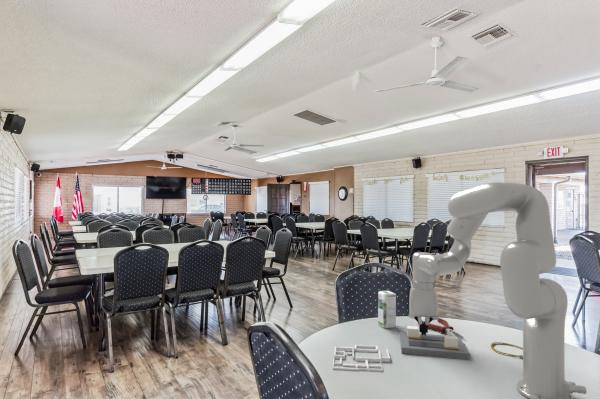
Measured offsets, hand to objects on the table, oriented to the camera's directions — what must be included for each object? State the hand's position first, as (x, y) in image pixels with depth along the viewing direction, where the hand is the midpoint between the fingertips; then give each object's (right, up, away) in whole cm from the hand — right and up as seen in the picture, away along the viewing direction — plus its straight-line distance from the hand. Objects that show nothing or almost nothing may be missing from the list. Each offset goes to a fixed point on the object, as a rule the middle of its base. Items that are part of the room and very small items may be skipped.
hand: (423, 334), depth 135 cm
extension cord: (+29, -4, -8) cm, 31 cm away
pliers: (+11, -4, +14) cm, 18 cm away
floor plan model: (-25, -4, -10) cm, 28 cm away
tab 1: (-4, -1, +1) cm, 4 cm away
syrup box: (-9, -4, +19) cm, 22 cm away
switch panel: (+2, -3, -4) cm, 5 cm away
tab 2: (+7, -1, -9) cm, 11 cm away
